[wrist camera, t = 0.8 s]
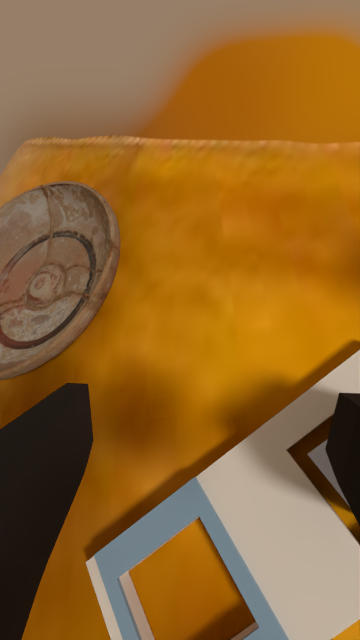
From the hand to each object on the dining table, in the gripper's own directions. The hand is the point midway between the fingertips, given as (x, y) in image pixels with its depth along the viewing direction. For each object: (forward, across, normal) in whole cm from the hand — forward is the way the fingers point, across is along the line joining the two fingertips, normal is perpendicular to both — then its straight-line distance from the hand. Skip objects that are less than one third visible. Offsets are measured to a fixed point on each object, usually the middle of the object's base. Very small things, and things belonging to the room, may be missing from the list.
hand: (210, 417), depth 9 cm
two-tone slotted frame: (+6, -5, +13) cm, 15 cm away
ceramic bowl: (+28, +17, +4) cm, 32 cm away
